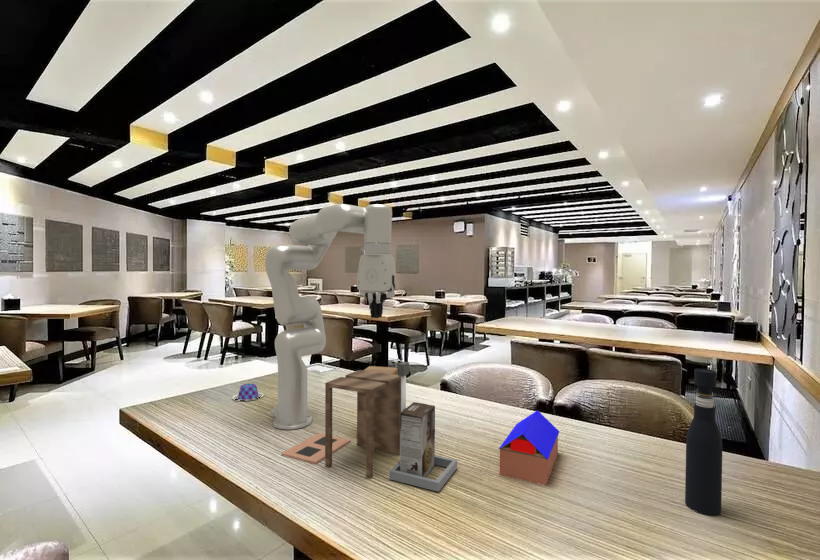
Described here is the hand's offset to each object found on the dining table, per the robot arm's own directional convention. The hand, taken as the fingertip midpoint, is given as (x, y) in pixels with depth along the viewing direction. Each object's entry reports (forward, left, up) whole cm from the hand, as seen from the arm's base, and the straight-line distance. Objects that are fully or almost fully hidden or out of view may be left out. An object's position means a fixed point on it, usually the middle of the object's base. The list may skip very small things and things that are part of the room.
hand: (376, 317), depth 112 cm
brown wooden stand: (-2, -3, -39) cm, 39 cm away
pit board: (-18, -3, -39) cm, 43 cm away
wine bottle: (+76, +11, -39) cm, 86 cm away
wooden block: (-8, +15, -39) cm, 42 cm away
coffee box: (+14, -2, -39) cm, 41 cm away
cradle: (+16, -3, -39) cm, 42 cm away
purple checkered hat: (-74, +23, -39) cm, 87 cm away
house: (+39, +15, -39) cm, 57 cm away
